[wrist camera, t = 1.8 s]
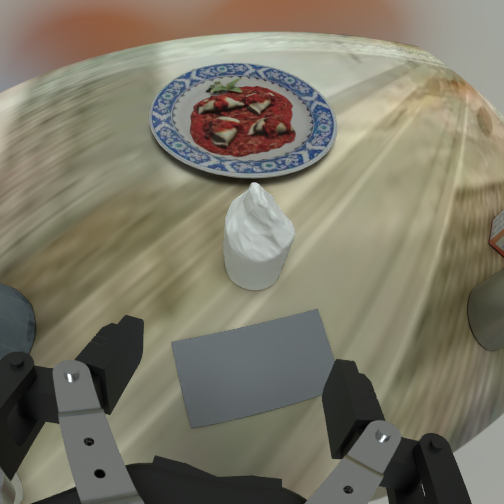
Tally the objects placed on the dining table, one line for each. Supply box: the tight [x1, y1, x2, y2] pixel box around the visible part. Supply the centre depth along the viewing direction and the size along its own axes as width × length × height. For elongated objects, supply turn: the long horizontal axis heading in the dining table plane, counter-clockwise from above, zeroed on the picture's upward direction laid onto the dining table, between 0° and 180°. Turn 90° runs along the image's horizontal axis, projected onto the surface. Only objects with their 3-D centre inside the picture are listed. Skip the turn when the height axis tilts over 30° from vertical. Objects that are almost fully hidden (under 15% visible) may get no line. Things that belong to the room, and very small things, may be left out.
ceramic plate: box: [149, 63, 337, 178], centre depth 41 cm, size 26×26×3 cm
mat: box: [171, 309, 335, 428], centre depth 27 cm, size 14×8×1 cm, turn 105°
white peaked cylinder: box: [223, 183, 295, 291], centre depth 26 cm, size 6×12×6 cm
